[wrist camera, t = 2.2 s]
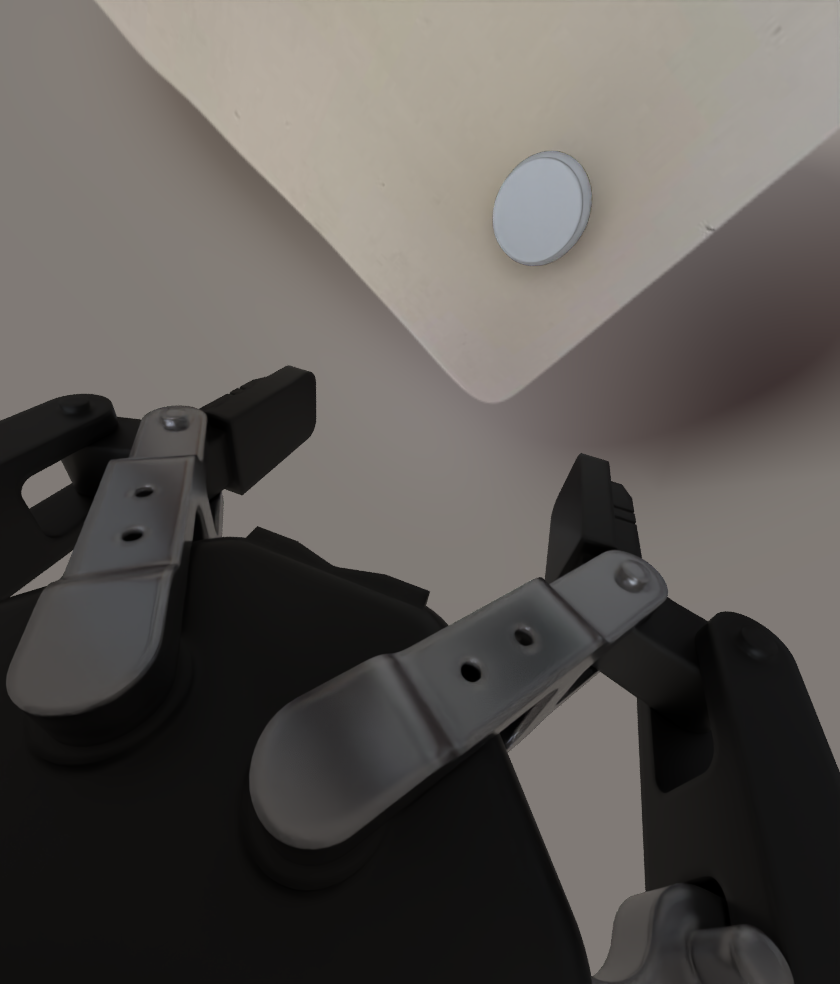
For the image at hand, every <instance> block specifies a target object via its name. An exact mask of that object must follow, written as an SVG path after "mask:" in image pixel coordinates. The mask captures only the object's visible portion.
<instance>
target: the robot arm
mask: <svg viewBox="0 0 840 984" xmlns="http://www.w3.org/2000/svg"><path fill="white" fill-rule="evenodd" d="M315 424H316V379H315V376H314V374H313V373H312V372H309V371H306V370H302V369H299V368H296V367H293V366H285V367H284V368H282V369H280V370H278V371H276V372H275V373H273V374H272V375H269V376H267V377H264V378H259V379H255V380H252V381H250V382H248V383H246V384H245V385H242V386H241V387H240V389H239V388H237V389H235V390H233V391H232V392H230V394H226V395H224V396H222V397H220V398H218V399H216V400H215V401H213V402H211V403H209V404H207V405H205V406H203V407H202V408H200V409H197V408H194V407H190V406H167V407H162V408H158V409H156V410H153V411H151V412H149V413H147V414H146V415H145V416H144V417H143V418H142V420H140V419H131V418H123V417H117V416H116V413H115V410H114V408H113V405H112V402H111V401H110V400H109V399H108V398H106V397H103V396H99V395H94V394H76V395H75V394H74V395H67V396H62V397H59V398H55V399H53V400H50V401H47V402H45V403H43V404H40V405H38V406H35V407H33V408H30V409H28V410H26V411H23V412H21V413H18V414H16V415H13V416H11V417H8V418H6V419H4V420H1V421H0V984H840V772H839V769H838V767H837V764H836V762H835V759H834V757H833V754H832V752H831V749H830V747H829V744H828V742H827V739H826V737H825V734H824V732H823V729H822V727H821V724H820V722H819V719H818V717H817V715H816V712H815V709H814V707H813V704H812V702H811V699H810V696H809V695H808V692H807V689H806V687H805V684H804V681H803V679H802V676H801V674H800V672H799V669H798V666H797V664H796V661H795V660H794V657H793V655H792V654H791V653H790V651H789V650H788V648H787V647H786V646H785V644H784V643H783V642H782V641H781V640H780V639H779V638H778V637H777V636H776V635H775V634H773V633H772V632H771V631H770V630H769V629H767V628H766V627H764V626H763V625H761V624H760V623H758V622H757V621H755V620H753V619H751V618H749V617H747V616H744V615H742V614H739V613H735V612H726V611H725V612H720V613H717V614H716V615H715V616H714V617H713V618H712V619H710V621H706V620H705V619H703V618H701V617H699V616H698V615H696V614H694V613H692V612H691V611H689V610H687V609H686V608H684V607H682V606H681V605H679V604H677V603H676V602H674V601H672V600H671V599H670V598H668V597H667V596H668V589H667V585H666V583H665V581H664V579H663V577H662V576H661V575H660V573H659V572H658V571H657V570H656V569H655V568H654V567H653V566H651V565H650V564H649V563H648V562H646V561H645V560H643V559H642V555H641V549H640V543H639V538H638V531H637V525H635V523H636V519H635V514H633V513H634V507H633V501H632V498H631V496H630V495H629V494H628V492H627V491H626V489H625V488H624V487H623V485H622V484H619V483H615V482H612V481H611V476H610V466H609V462H608V461H605V460H602V459H599V458H596V457H592V456H589V455H586V454H582V453H581V454H579V456H578V457H577V459H576V461H575V463H574V465H573V467H572V469H571V471H570V473H569V475H568V477H567V479H566V481H565V483H564V485H563V487H562V489H561V491H560V493H559V495H558V498H557V499H556V502H555V505H554V508H553V511H552V516H551V524H550V534H549V545H548V554H547V565H546V574H545V580H544V579H543V578H541V577H539V578H535V579H533V580H531V581H529V582H527V583H525V584H524V585H522V586H520V587H518V588H516V589H515V590H513V591H511V592H510V593H507V594H506V595H504V596H502V597H500V598H498V599H497V600H495V601H493V602H491V603H489V604H487V605H486V606H484V607H482V608H480V609H478V610H476V611H475V612H473V613H471V614H470V615H467V616H466V617H464V618H462V619H460V620H458V621H457V622H455V623H453V624H451V625H448V624H447V623H446V622H445V621H444V620H443V619H442V618H441V617H440V616H439V615H437V614H436V613H435V612H434V611H433V610H431V609H430V608H428V607H427V606H426V604H427V600H428V596H429V593H430V592H429V591H428V590H425V589H422V588H420V587H417V586H414V585H412V584H409V583H406V582H404V581H401V580H399V579H396V578H393V577H391V576H388V575H385V574H379V573H372V572H366V571H359V570H352V569H346V568H339V567H335V566H333V565H331V564H330V563H328V562H326V561H325V560H324V559H322V558H321V557H319V556H318V555H316V554H315V553H314V552H312V551H311V550H309V549H308V548H306V547H305V546H303V545H302V544H301V543H299V542H298V541H295V540H292V539H290V538H287V537H284V536H282V535H279V534H277V533H273V532H271V531H269V530H266V529H263V528H261V527H258V526H257V527H256V528H255V529H254V530H253V531H252V532H251V533H250V534H249V535H248V536H247V537H246V538H242V537H222V526H223V525H222V524H223V504H224V502H223V495H222V490H223V489H226V490H229V491H232V492H234V493H237V494H240V495H243V494H244V493H246V492H247V491H248V490H249V489H250V488H251V487H252V486H254V485H255V484H256V483H257V482H258V481H259V480H261V479H262V478H263V477H264V476H265V475H266V474H268V473H269V472H270V471H271V470H272V469H273V468H275V467H276V466H277V465H278V464H279V463H280V462H282V461H283V460H284V459H285V458H286V457H287V456H288V455H290V454H291V453H292V452H293V451H294V450H295V449H297V448H298V447H299V446H300V445H301V444H302V443H304V442H305V441H306V440H307V439H308V438H309V437H310V436H311V434H312V433H313V431H314V428H315ZM60 460H61V461H62V463H63V465H64V467H65V469H66V471H67V473H68V475H69V477H70V479H71V481H72V483H71V484H70V485H68V486H66V487H65V488H63V489H61V490H60V491H58V492H57V493H55V494H53V495H51V496H50V497H48V498H47V499H45V500H43V501H41V502H40V503H38V504H37V505H35V506H33V507H31V508H30V509H29V508H28V506H27V505H26V503H25V501H24V500H23V498H22V495H21V490H22V486H23V484H24V483H25V481H26V480H27V479H28V478H29V477H31V476H32V475H34V474H36V473H38V472H40V471H42V470H43V469H45V468H47V467H49V466H51V465H53V464H55V463H56V462H58V461H60ZM72 550H73V553H72V555H71V557H70V560H69V563H68V565H67V567H66V570H65V572H64V574H63V576H62V577H61V578H60V579H59V580H58V581H55V582H52V583H50V584H49V585H48V586H45V587H42V588H39V589H36V590H32V591H29V592H26V593H22V594H19V595H16V596H12V595H13V594H14V593H16V592H17V591H18V590H20V589H21V588H22V587H23V586H25V585H26V584H28V583H29V582H30V581H32V580H33V579H35V578H36V577H37V576H39V575H40V574H41V573H43V572H44V571H45V570H47V569H48V568H49V567H51V566H52V565H53V564H55V563H56V562H57V561H59V560H60V559H61V558H63V557H64V556H66V555H67V554H68V553H70V552H71V551H72ZM10 596H12V597H10ZM599 672H602V673H603V674H604V675H606V676H607V677H609V678H610V679H611V680H613V681H614V682H616V683H617V684H619V685H620V686H621V687H623V688H624V689H626V690H627V691H628V692H630V693H631V694H633V695H634V696H636V697H637V711H638V712H637V713H638V735H639V756H640V779H641V800H642V823H643V844H644V845H643V846H644V867H645V890H646V892H644V893H641V894H637V895H634V896H631V897H629V898H628V899H626V900H625V901H624V902H623V903H622V904H621V906H620V907H619V909H618V911H617V913H616V916H615V920H614V923H613V931H612V939H611V947H610V950H609V953H608V957H607V959H606V961H605V963H604V965H603V966H602V967H601V969H600V970H599V971H598V972H597V973H596V974H595V975H594V976H591V972H590V967H589V963H588V959H587V955H586V951H585V947H584V944H583V940H582V937H581V934H580V931H579V928H578V925H577V922H576V920H575V917H574V915H573V912H572V910H571V907H570V905H569V902H568V900H567V898H566V895H565V893H564V890H563V888H562V885H561V883H560V880H559V878H558V875H557V873H556V871H555V868H554V866H553V863H552V861H551V858H550V856H549V854H548V851H547V849H546V846H545V844H544V841H543V839H542V837H541V834H540V831H539V829H538V827H537V824H536V822H535V819H534V817H533V814H532V812H531V810H530V807H529V804H528V802H527V800H526V797H525V795H524V792H523V790H522V788H521V785H520V783H519V780H518V777H517V775H516V773H515V770H514V768H513V765H512V763H511V760H510V758H509V755H508V752H509V751H510V750H511V749H512V748H514V747H515V746H516V745H517V744H518V743H520V742H521V741H522V740H523V739H524V738H525V737H526V736H527V735H528V734H530V732H531V731H533V729H535V728H536V727H537V726H538V725H539V724H540V723H541V722H542V721H543V720H544V719H545V718H546V717H547V716H548V715H549V714H550V713H552V712H553V711H554V710H555V709H556V708H557V707H559V706H560V705H561V704H562V703H563V702H565V701H566V700H567V699H568V698H569V697H571V696H572V695H573V694H574V693H575V692H577V691H578V690H579V689H580V688H581V687H583V686H584V685H585V684H586V683H587V682H589V681H590V680H591V679H592V678H593V677H594V676H596V675H597V674H598V673H599Z"/></svg>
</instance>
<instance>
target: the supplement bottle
mask: <svg viewBox="0 0 840 984" xmlns="http://www.w3.org/2000/svg"><path fill="white" fill-rule="evenodd" d="M591 207H592V190H591V185H590V181H589V178H588V175H587V173H586V172H585V170H584V168H583V167H582V165H581V164H580V163H579V162H578V161H577V160H576V159H575V158H573V157H572V156H570V155H568V154H566V153H563V152H560V151H544V152H540V153H537V154H534V155H532V156H530V157H528V158H526V159H525V160H523V161H522V162H521V163H520V164H518V165H517V166H516V167H515V168H514V169H513V170H512V172H511V173H510V174H509V175H508V177H507V178H506V180H505V181H504V183H503V184H502V186H501V188H500V190H499V192H498V194H497V197H496V200H495V203H494V208H493V229H494V233H495V237H496V239H497V242H498V243H499V245H500V247H501V248H502V250H503V251H504V252H505V253H506V254H507V255H508V256H509V257H510V258H511V259H513V260H514V261H516V262H518V263H520V264H523V265H528V266H540V265H545V264H548V263H551V262H553V261H555V260H557V259H559V258H560V257H562V256H563V255H564V254H566V253H567V252H568V251H569V250H570V249H571V248H572V247H573V246H574V245H575V244H576V242H577V241H578V240H579V238H580V237H581V235H582V234H583V232H584V230H585V228H586V225H587V223H588V220H589V216H590V212H591Z"/></svg>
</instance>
